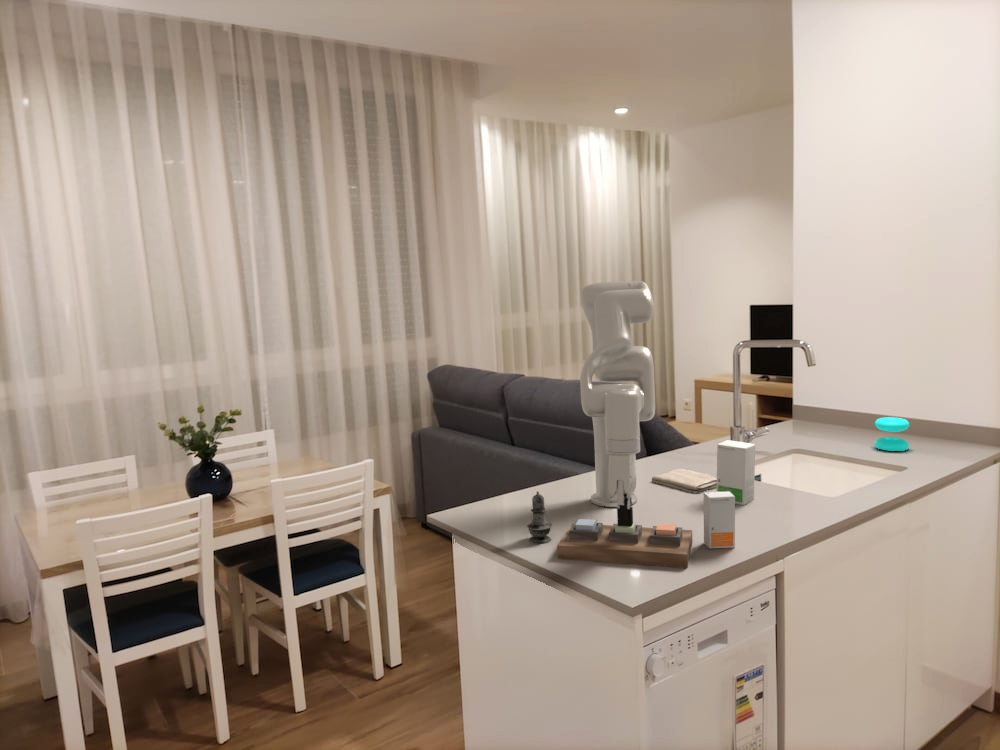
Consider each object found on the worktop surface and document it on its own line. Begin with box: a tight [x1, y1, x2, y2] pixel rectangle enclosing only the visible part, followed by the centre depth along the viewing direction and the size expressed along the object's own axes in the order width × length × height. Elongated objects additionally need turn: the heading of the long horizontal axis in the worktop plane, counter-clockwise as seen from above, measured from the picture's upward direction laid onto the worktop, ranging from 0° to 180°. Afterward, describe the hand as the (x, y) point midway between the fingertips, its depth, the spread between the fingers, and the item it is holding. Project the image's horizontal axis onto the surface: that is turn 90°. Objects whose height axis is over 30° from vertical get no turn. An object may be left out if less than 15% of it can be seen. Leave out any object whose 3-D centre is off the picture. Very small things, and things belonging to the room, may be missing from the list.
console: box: [556, 520, 693, 569], centre depth 165 cm, size 15×28×5 cm, turn 71°
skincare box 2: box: [716, 439, 756, 506], centre depth 196 cm, size 8×7×16 cm
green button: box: [615, 521, 637, 533], centre depth 164 cm, size 4×4×3 cm
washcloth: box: [651, 468, 717, 494], centre depth 214 cm, size 12×18×3 cm, turn 36°
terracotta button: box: [656, 522, 677, 536], centre depth 161 cm, size 4×4×3 cm
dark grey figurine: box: [526, 491, 552, 545], centre depth 174 cm, size 6×6×12 cm
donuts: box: [874, 416, 910, 452], centre depth 241 cm, size 10×10×10 cm
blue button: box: [575, 518, 597, 531], centre depth 167 cm, size 4×4×3 cm
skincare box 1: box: [703, 491, 736, 550], centre depth 164 cm, size 6×4×12 cm
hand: (625, 524), depth 164 cm, fingers closed
